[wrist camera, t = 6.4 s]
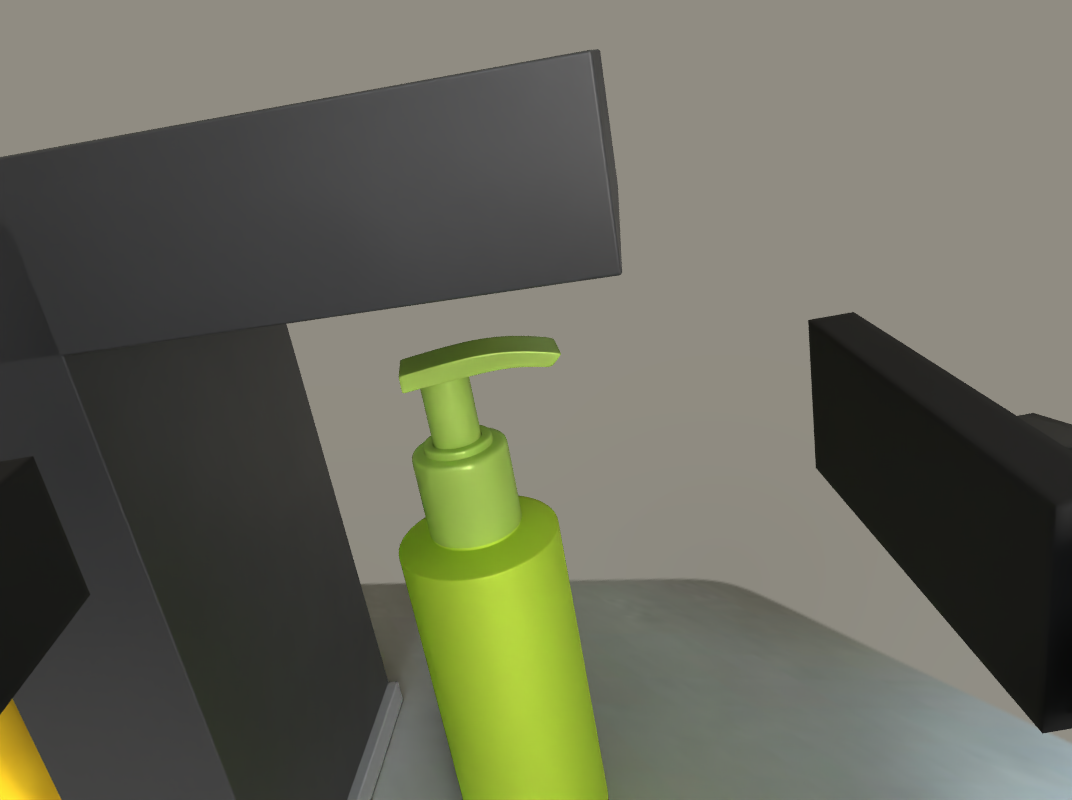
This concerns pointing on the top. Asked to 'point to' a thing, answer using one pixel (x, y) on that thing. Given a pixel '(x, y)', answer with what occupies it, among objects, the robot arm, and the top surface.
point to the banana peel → (21, 762)
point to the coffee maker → (253, 401)
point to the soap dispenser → (495, 594)
